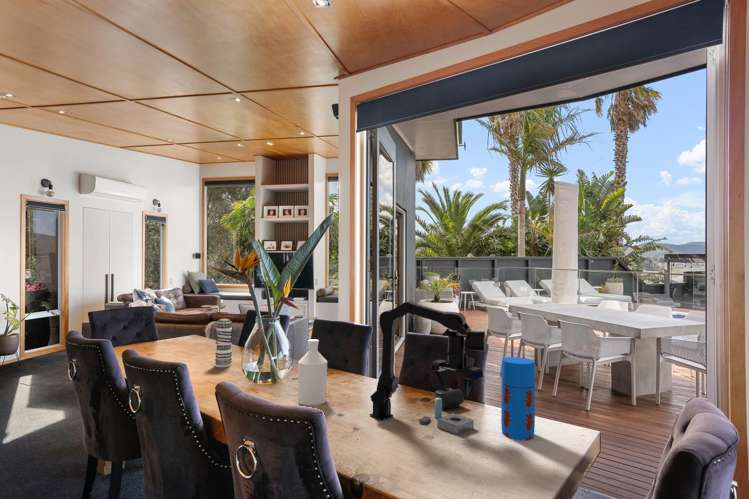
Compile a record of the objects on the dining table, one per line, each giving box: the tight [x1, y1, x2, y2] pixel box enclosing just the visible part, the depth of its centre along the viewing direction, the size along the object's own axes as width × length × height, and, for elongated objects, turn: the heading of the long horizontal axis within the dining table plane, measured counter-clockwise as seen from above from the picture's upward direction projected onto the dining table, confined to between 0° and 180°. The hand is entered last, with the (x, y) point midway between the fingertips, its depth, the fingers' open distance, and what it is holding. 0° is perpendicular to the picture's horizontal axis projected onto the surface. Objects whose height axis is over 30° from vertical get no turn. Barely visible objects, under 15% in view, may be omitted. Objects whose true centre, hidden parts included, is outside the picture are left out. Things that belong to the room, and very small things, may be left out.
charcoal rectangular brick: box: [419, 415, 431, 426], centre depth 165 cm, size 5×2×2 cm, turn 155°
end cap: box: [434, 387, 465, 411], centre depth 181 cm, size 10×7×7 cm
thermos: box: [500, 356, 536, 441], centre depth 154 cm, size 11×11×25 cm
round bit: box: [434, 397, 443, 420], centre depth 169 cm, size 3×3×7 cm
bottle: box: [297, 338, 328, 406], centre depth 187 cm, size 12×12×25 cm
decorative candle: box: [214, 318, 234, 368], centre depth 247 cm, size 9×9×25 cm
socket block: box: [436, 413, 475, 436], centre depth 159 cm, size 9×9×3 cm
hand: (455, 393), depth 159 cm, fingers open, 9 cm apart
